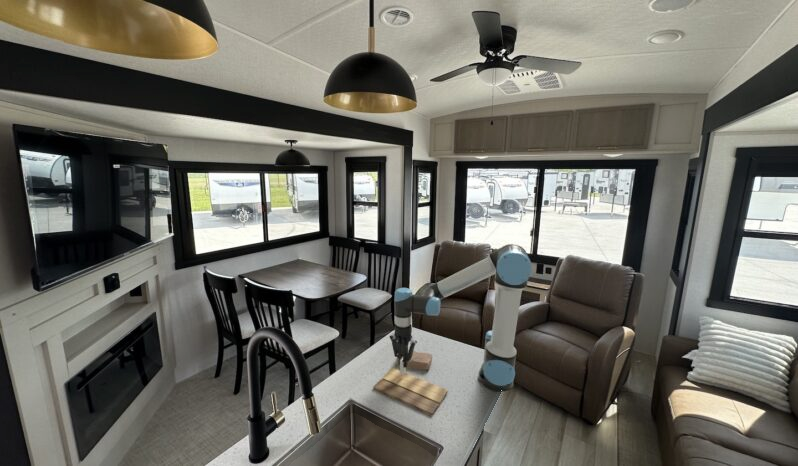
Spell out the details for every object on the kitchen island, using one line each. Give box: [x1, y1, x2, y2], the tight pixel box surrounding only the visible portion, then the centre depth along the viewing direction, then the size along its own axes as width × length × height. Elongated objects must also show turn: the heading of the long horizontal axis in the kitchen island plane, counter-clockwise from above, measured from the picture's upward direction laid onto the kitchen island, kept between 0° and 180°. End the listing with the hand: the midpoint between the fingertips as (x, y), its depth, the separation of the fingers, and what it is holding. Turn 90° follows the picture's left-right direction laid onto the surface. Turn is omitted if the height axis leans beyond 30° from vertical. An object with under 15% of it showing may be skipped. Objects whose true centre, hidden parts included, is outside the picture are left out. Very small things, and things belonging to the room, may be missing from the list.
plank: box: [381, 367, 448, 406], centre depth 135 cm, size 28×8×1 cm, turn 58°
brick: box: [395, 349, 433, 371], centre depth 152 cm, size 17×8×5 cm, turn 73°
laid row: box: [372, 378, 440, 417], centre depth 128 cm, size 28×6×1 cm, turn 58°
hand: (402, 372), depth 139 cm, fingers closed
